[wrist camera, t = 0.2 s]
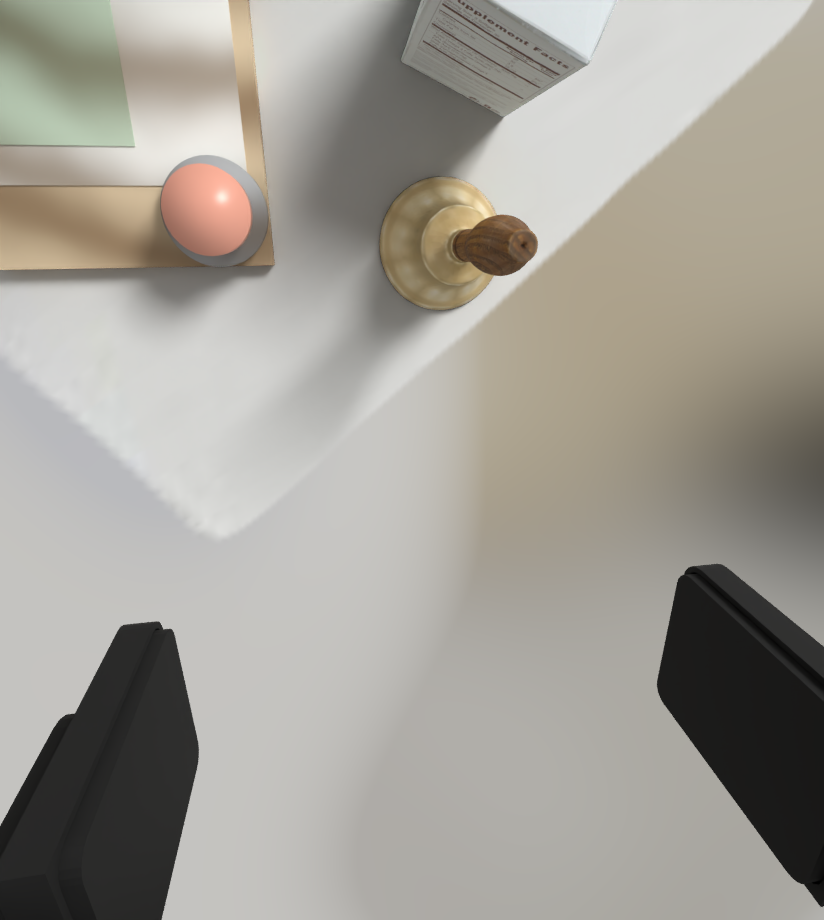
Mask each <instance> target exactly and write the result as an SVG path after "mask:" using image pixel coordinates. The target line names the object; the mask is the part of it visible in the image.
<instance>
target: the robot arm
mask: <svg viewBox="0 0 824 920" xmlns="http://www.w3.org/2000/svg"><path fill="white" fill-rule="evenodd" d="M657 688H658V693H659V695H660V698H661V700H662V702H663V703H664V705H665V706H666V707H667V709H668V710H669V711H670V713H671V714H672V715H673V717H674V718H675V720H676V721H677V722H678V724H679V725H680V727H681V728H682V729H683V730H684V732H685V733H686V735H687V736H688V737H689V739H690V740H691V741H692V743H693V744H694V746H695V747H696V748H697V750H698V751H699V752H700V754H701V755H702V757H703V758H704V759H705V761H706V762H707V763H708V765H709V766H710V767H711V769H712V770H713V772H714V773H715V774H716V775H717V777H718V778H719V780H720V781H721V782H722V784H723V785H724V786H725V788H726V789H727V791H728V792H729V793H730V795H731V796H732V797H733V799H734V800H735V801H736V803H737V804H738V806H739V807H740V808H741V810H742V811H743V812H744V814H745V815H746V816H747V818H748V819H749V821H750V822H751V823H752V825H753V826H754V828H755V829H756V830H757V832H758V833H759V834H760V836H761V837H762V838H763V840H764V841H765V843H766V844H767V845H768V847H769V848H770V849H771V851H772V852H773V853H774V855H775V856H776V858H777V859H778V860H779V862H780V863H781V864H782V866H783V867H784V868H785V870H786V871H787V872H788V874H789V875H790V876H791V877H792V878H793V879H794V880H796V881H797V882H799V883H801V884H804V885H805V886H806V888H807V889H808V890H809V892H810V893H811V894H812V895H813V897H814V898H815V900H816V901H817V902H818V904H819V905H820V906H821V907H823V906H824V647H823V646H822V645H821V644H820V643H818V642H817V641H816V640H815V639H814V638H812V637H811V636H810V635H809V634H807V633H806V632H805V631H804V630H802V629H801V628H800V627H799V626H797V625H796V624H795V623H794V622H793V621H791V620H790V619H789V618H788V617H787V616H785V615H784V614H783V613H782V612H780V611H779V610H778V609H777V608H776V607H774V606H773V605H772V604H771V603H769V602H768V601H767V600H766V599H764V598H763V597H762V596H761V595H760V594H758V593H757V592H756V591H755V590H754V589H752V588H751V587H750V586H749V585H747V584H746V583H745V582H744V581H742V580H741V579H740V578H739V577H737V576H736V575H735V574H734V573H733V572H732V571H730V570H729V569H728V568H727V567H725V566H723V565H721V564H711V565H701V566H692V567H689V568H688V569H687V570H686V571H685V574H684V575H682V576H681V577H680V578H679V579H678V582H677V587H676V591H675V596H674V601H673V606H672V611H671V616H670V621H669V626H668V631H667V636H666V641H665V646H664V651H663V655H662V660H661V665H660V670H659V675H658V680H657ZM198 755H199V747H198V740H197V735H196V731H195V726H194V722H193V717H192V713H191V708H190V704H189V699H188V695H187V690H186V685H185V680H184V676H183V671H182V667H181V663H180V658H179V653H178V649H177V644H176V640H175V635H174V632H173V630H172V629H164V630H163V628H162V625H161V624H160V622H147V623H138V624H128V625H123V626H121V627H120V629H119V630H118V632H117V634H116V635H115V637H114V639H113V641H112V643H111V645H110V647H109V649H108V651H107V653H106V655H105V657H104V659H103V661H102V663H101V664H100V667H99V668H98V670H97V672H96V674H95V676H94V678H93V680H92V682H91V684H90V686H89V688H88V690H87V692H86V693H85V695H84V697H83V699H82V701H81V703H80V705H79V707H78V709H77V711H76V713H75V714H68V715H65V716H64V717H62V718H61V719H60V720H59V721H58V723H57V724H56V726H55V727H54V728H53V730H52V732H51V734H50V736H49V738H48V740H47V742H46V743H45V745H44V747H43V749H42V750H41V752H40V754H39V756H38V758H37V760H36V761H35V763H34V765H33V767H32V769H31V771H30V772H29V774H28V776H27V778H26V780H25V782H24V784H23V785H22V787H21V789H20V791H19V793H18V794H17V796H16V798H15V800H14V802H13V804H12V805H11V807H10V809H9V811H8V813H7V815H6V817H5V818H4V820H3V822H2V824H1V826H0V920H161V919H162V915H163V911H164V906H165V902H166V898H167V894H168V889H169V885H170V881H171V877H172V872H173V868H174V864H175V859H176V855H177V850H178V847H179V842H180V838H181V834H182V829H183V825H184V821H185V817H186V812H187V808H188V804H189V800H190V795H191V791H192V787H193V782H194V778H195V774H196V770H197V765H198V757H199V756H198Z"/></svg>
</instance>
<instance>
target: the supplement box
mask: <svg viewBox="0 0 824 920" xmlns="http://www.w3.org/2000/svg"><path fill="white" fill-rule="evenodd" d="M617 1H618V0H421V2H420V5H419V8H418V11H417V14H416V17H415V20H414V23H413V26H412V29H411V32H410V35H409V38H408V41H407V44H406V46H405V49H404V52H403V55H402V58H401V62H403V63H404V64H406V65H408V66H410V67H412V68H414V69H416V70H418V71H420V72H421V73H423V74H425V75H427V76H429V77H431V78H432V79H434V80H436V81H438V82H440V83H442V84H443V85H445V86H447V87H449V88H451V89H452V90H454V91H456V92H458V93H460V94H462V95H463V96H465V97H467V98H469V99H471V100H473V101H474V102H476V103H478V104H480V105H482V106H483V107H485V108H487V109H489V110H491V111H493V112H494V113H496V114H498V115H500V116H502V117H505V116H507V115H508V114H510V113H511V112H513V111H515V110H516V109H518V108H519V107H521V106H522V105H524V104H526V103H527V102H529V101H530V100H532V99H533V98H535V97H537V96H538V95H540V94H542V93H543V92H545V91H546V90H548V89H549V88H551V87H553V86H554V85H556V84H557V83H559V82H561V81H562V80H564V79H565V78H567V77H569V76H570V75H572V74H573V73H575V72H577V71H578V70H580V69H581V68H583V67H585V66H586V65H588V64H589V63H590V61H591V60H592V58H593V56H594V54H595V51H596V49H597V47H598V45H599V42H600V40H601V38H602V35H603V33H604V31H605V28H606V26H607V24H608V21H609V19H610V17H611V14H612V12H613V10H614V8H615V5H616V3H617Z"/></svg>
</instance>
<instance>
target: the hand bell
mask: <svg viewBox="0 0 824 920" xmlns="http://www.w3.org/2000/svg"><path fill="white" fill-rule="evenodd" d="M537 246H538V241H537V237H536V236H535V234H534V233H533V232H532V231H530V229H529V228H528V226H527V225H526V224H525V223H524V222H522V221H521V220H520V219H518V218H516V217H513V216H509V215H496V213H495V210H494V208H493V207H492V205H491V203H490V202H489V201H488V199H487V198H486V197H485V196H484V195H483V194H482V193H481V192H480V191H479V190H478V189H477V188H475V187H474V186H472V185H471V184H469V183H467V182H465V181H462V180H460V179H457V178H453V177H432V178H428V179H424V180H421V181H418V182H417V183H415V184H413V185H411V186H410V187H408V188H407V189H405V190H404V191H403V192H402V193H401V194H400V195H399V196H398V197H397V198H396V199H395V201H394V202H393V203H392V205H391V206H390V208H389V210H388V212H387V214H386V216H385V218H384V221H383V225H382V228H381V234H380V255H381V260H382V265H383V268H384V270H385V273H386V275H387V277H388V279H389V281H390V282H391V284H392V285H393V287H394V288H395V289H396V290H397V292H399V293H400V294H401V295H402V296H403V297H404V298H405V299H407V300H409V301H410V302H412V303H414V304H416V305H418V306H420V307H424V308H427V309H433V310H447V309H452V308H456V307H459V306H462V305H464V304H466V303H468V302H469V301H471V300H473V299H474V298H475V297H477V296H478V295H479V294H480V293H481V292H482V291H483V290H484V289H485V288H486V286H487V285H488V284H489V282H490V281H491V279H492V278H493V276H494V275H495V276H504V275H509V274H512V273H514V272H516V271H518V270H520V269H521V268H522V267H523V266H524V265H525V264H526V263H527V262H528V261H529V260H530V259H531V258H532V257H533V256H534V255H535V253H536V252H537Z"/></svg>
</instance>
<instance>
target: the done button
mask: <svg viewBox="0 0 824 920" xmlns="http://www.w3.org/2000/svg"><path fill="white" fill-rule="evenodd" d="M161 211H162V215H163V219H164V222H165V224H166V226H167V228H168V230H169V231H170V233H171V235H172V236H173V237H174V238H175V239H176V240H177V241H178V242H179V243H180V244H181V245H182V246H184V247H185V248H187V249H188V250H190V251H192V252H194V253H197V254H200V255H205V256H219V255H224V254H228V253H230V252H233V251H234V250H236V249H237V248H239V247H240V246H241V245H242V244H243V243H244V242H245V240H246V239H247V237H248V235H249V233H250V230H251V227H252V220H253V214H252V207H251V203H250V200H249V198H248V195H247V193H246V192H245V190H244V188H243V187H242V186H241V184H240V183H239V182H238V181H237V180H236V179H235V178H233V177H232V176H231V175H229V174H228V173H226V172H225V171H223V170H222V169H220V168H218V167H215V166H212V165H209V164H202V163H196V164H190V165H186V166H184V167H182V168H180V169H178V170H177V171H175V172H174V173H173V174H172V175H171V176H170V177H169V179H168V180H167V182H166V184H165V186H164V188H163V191H162V196H161Z"/></svg>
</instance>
